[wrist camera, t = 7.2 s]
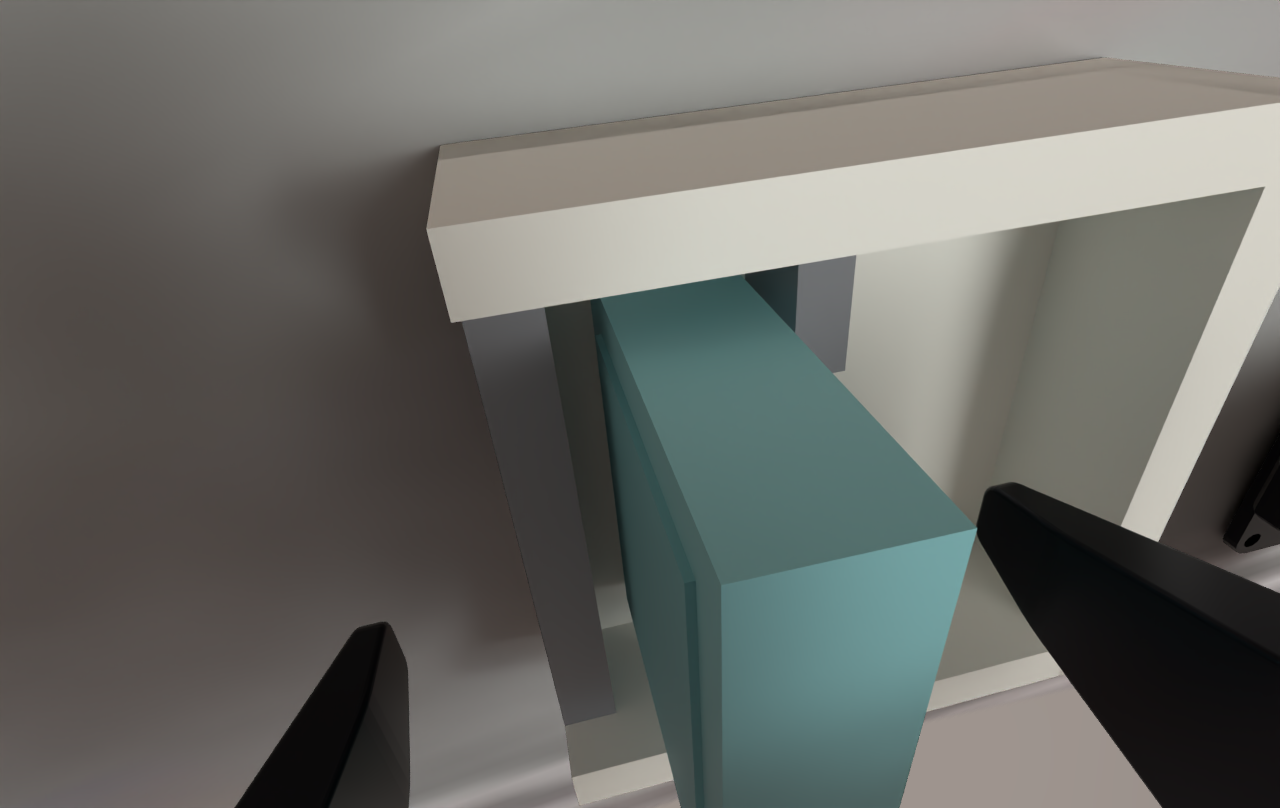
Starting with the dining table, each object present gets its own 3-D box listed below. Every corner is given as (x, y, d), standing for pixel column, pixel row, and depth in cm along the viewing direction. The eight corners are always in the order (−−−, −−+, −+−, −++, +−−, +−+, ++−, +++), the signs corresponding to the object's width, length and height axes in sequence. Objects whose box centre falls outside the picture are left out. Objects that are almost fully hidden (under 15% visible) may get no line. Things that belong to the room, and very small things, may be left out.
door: (712, 245, 10) (977, 528, 5) (716, 562, 14) (868, 916, 9) (579, 264, 10) (708, 587, 5) (620, 584, 14) (716, 963, 8)
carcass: (1105, 57, 11) (1373, 88, 8) (977, 533, 17) (1099, 665, 14) (440, 145, 10) (426, 228, 6) (556, 632, 16) (579, 805, 12)
